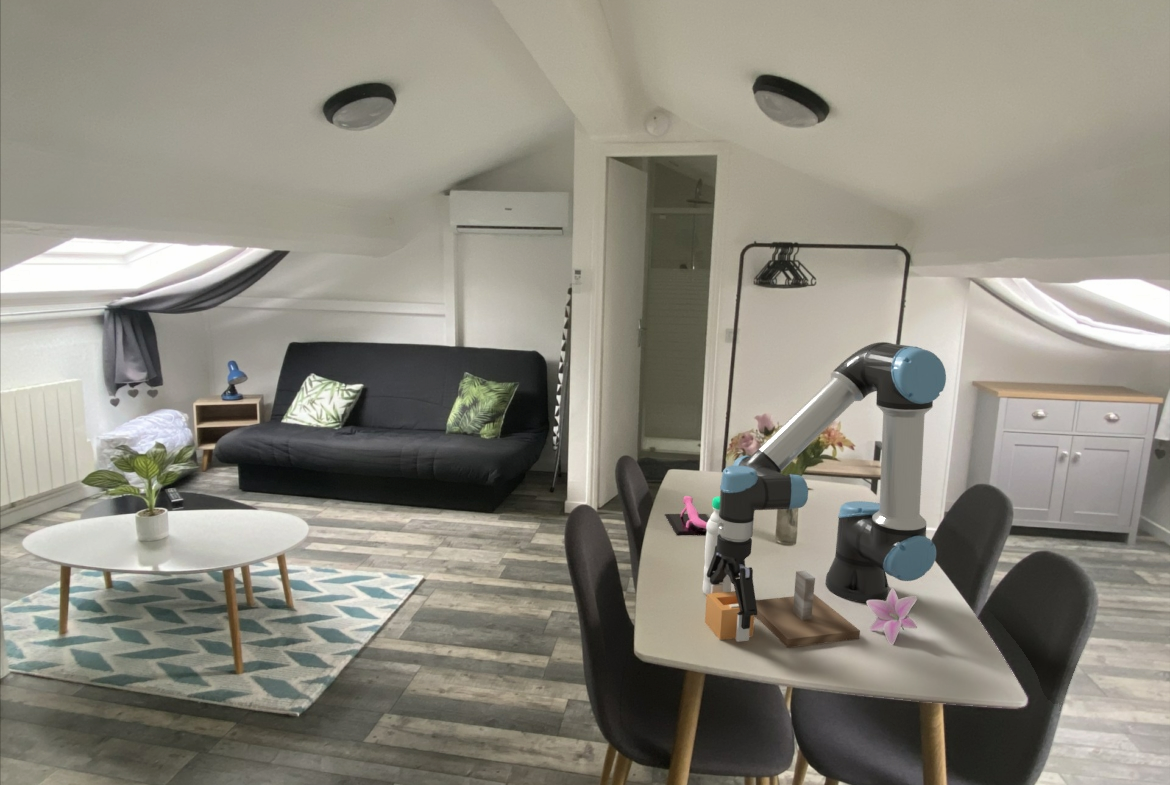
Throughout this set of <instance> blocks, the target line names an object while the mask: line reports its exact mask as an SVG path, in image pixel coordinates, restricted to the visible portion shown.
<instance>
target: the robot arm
mask: <svg viewBox="0 0 1170 785" xmlns="http://www.w3.org/2000/svg"><path fill="white" fill-rule="evenodd" d="M946 373H947V372H946V368H945V366H944V363H943V361H942V360H941V359H940V358H939V357H938V356H937V355H936V354H935V353H934V352H932V351H930V350H928V349H923V348H922V347H918V346H913V345H912V346H911V345H904V344H896V343H892V342H886V341H885V342H884V341H881V342H880V341H879V342H873V343H871V344H869V345H866V346H864V347H862V348H860V349H858V350H857V351H855V352H854V353H852V354H851V355H850V356H848V357H847V358H846V359H845V360H843V361H842V362H841V363H840V364H839V365H838V366H837V367H836V368H835V369H834V370H832V371H831V372H830V379H829V381H828V382H826V384H824V386H822V387H821V388H820V389H819V390H818V391H817V392H816V393H815V394H814V395H813V396H812V397H811V398H810V399H809V400H807V402H806V403H805V404H803V406H802V407H800V409H798V410H797V412H795V413H794V414H793V415H792V416H791V417H790V418H789V419H788V420H786V422H785V423H784V424H783V425H782V426H781V427H780V428H779V429H778V430H776V432H775V433H774V434H773V435H771V436H770V437H769V438H768V439H767V441H765V443H763V444H762V446H760V447H759V448H758V449H757V450H755V452H754V453H752V455H742V456H739V457H738V458H737V459H736V460H734V463H733V464H732V465H729V466H727V467H725V468H724V469H723V471H722V474H721V479H720V485H719V489H720V492H719V493H720V496H719V497H720V512H719V523H717V526H718V533H719V535H718V536H717V546H715V551H714V555H713V558H712V561H711V564H710V566H709V569H708V572H707V577H708V578H709V577H710V583H711V593H721V592H723V584H719V583H722V582H723V579H724V578H725V577H726V575H728V576H729V577H730V580H731V585H733V587H734V591H735V592H736V596H737V600H738V605H739V609H740V612H738V613H737V614H738V617H737V630H736V638H735V641H736V642H737V643H738V642H739V643H740V642H745V641H750V640H749V639H750V637H749V630H750V619H751V616H752V615H754V616H755V615H757V606H756V600H757V599H756V594H755V586H754V578H753V573H754V572H753V571H754V570H753V567H752V566H751V567H747V566H746V559H747V558H748V557H749V556H751V553H752V546H753V545H752V543H753V540H752V537H753V533H754V521H755V518H754V517H755V512H756V511H767V510H769V511H771V510H773V511H774V510H775V511H777V510H789V511H790V510H791V509H793V510H794V509H801V508H803V507H805V505H806V504H807V502H808V499H809V488H808V484H807V481H806V480H805V478H804V477H803V476H802V475H799V474H791V473H789V474H782V473H781V472H782V471H784V470H785V469H786V467H787V466H789V464H791V462H793V461H794V460H795V459H796V458H797V457H798V456H799V455H800V454H801V453H802V452H803V451H804V450H805V449H806V448H807V447H809V445H811V443H812V442H813V441H815V440H816V439H817V438H818V437H819V436H820V435H821V434H822V433H823V432H824V431H825V430H826V429H828V427H830V425H832V424H833V422H835V421H836V420H837V418H839V417H840V416H841V415H842V414H843V413H844V412H845V411H846V410H847V409H848V408H849V407H850V406H851V405H852V404H853V403H854V402H861V401H863V399H865V398H866V397H867V396H868V395H870V394H872V393H874V392H876V399H875V400H876V402H875V404H876V407H877V408H879V410H880V411H882V434H881V436H882V437H881V438H882V440H881V461H880V486H879V487H880V488H879V503H878V502H873V501H865V500H864V501H863V500H862V501H860V500H857V501H847V502H844V503H843V504H841V505H840V508H839V513H838V517H837V518H838V523H837V524H838V525H837V533H836V544H835V555H834V558H833V561H832V563H831V565H830V568H829V570H828V572H827V573H826V576H825V587H826V588H827V589H828V590H829V591H830V592H831V593H833V594H834V595H836V596H838V597H841V598H844V599H846V600H850V601H856V602H859V603H860V602H862V603H866V601H867V600H883V601H885V600H887V597H888V594H889V591H890V590H889V588H890V586H889V583H888V582H889V581H888V577H887V575H888V576H891V577H893V578H895V579H897V580H899V581H903V582H911V581H915V580H918V579H921V578H923V577H924V576H925V574H926V573H927V572H929V571H930V570H931V568H932V567H933V565H934V563H935V561H936V559H937V548H936V545H935V544H934V543H933V541H932V540H931V538H929V537H927V520H926V519H925V518H924V517H923V516H922V514H920V513H921V495H922V494H921V493H922V491H921V490H922V475H923V474H922V473H923V453H924V433H925V431H924V430H925V415H926V413H928V412H929V411H930V410H932V408H933V407H934V406H933V404H934V401H935V400H936V399H938V398H939V397H940V393H941V392H943V391H944V389H945V386H946V382H947V374H946ZM714 571H715V572H714Z"/></svg>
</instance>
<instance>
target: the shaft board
mask: <svg viewBox="0 0 1170 785" xmlns="http://www.w3.org/2000/svg"><path fill="white" fill-rule="evenodd" d="M815 582H816V577H814V575H812V574H810V573H809V572H808V571H806V570H797V571H795V581H794V593H793V596H783V597H774V598H765V599H756V606H757V615H754V617H756V618H757V620H759V622H760V623H761V624H763V625H764V626H765V627H766V628H767V629H768V631H770V632H771V633H772V634H773V636H775V637H776V638H777V640H779V641H780V642H781V644H783V645H784V646H785V647H786V648H794V647H795V648H797V647H804V646H812V645H814V646H815V645H821V644H829V643H835V642H836V643H837V642H844V641H846V642H847V641H852V640H853V641H855V640H859V639H860V638H861V637H860V634H861V630H860V629H859V628H858V627H856V626H855V625H854V624H853V623H851V622H850V621H849V620H848V619H847V618H845V617H844V616H843V615H841V614H840V613H839V612H838V611H836V610H835V609H834V608H832V606H830V605H829V604H827V603H826V602H825V601H823V599H821V598H820V597H819V596H817V595H816V594H814V593H815V584H816V583H815Z"/></svg>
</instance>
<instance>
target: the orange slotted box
mask: <svg viewBox="0 0 1170 785" xmlns="http://www.w3.org/2000/svg"><path fill="white" fill-rule="evenodd" d="M705 596H706V598H705V600H706V601H705V612H704V613H705V615H704V616H705V617H704V623H705V624H706V625H707V627H708V628H709V629H710V630H711V631H712V632H713V634H714V635H715V636H716V637H717V638H718V640H720V641H722V640H731V639H736V630H737V617H738V614H737V613H738V612H740V609H739V605H738V600H737V596H736V592H735V590H733V591H732V590H731V592H721V593H711V594H707V595H705ZM754 626H755V615H752V616H751V619H750V630H749V638H750V637H753V636H754V629H755V628H754Z"/></svg>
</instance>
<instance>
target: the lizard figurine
mask: <svg viewBox="0 0 1170 785" xmlns="http://www.w3.org/2000/svg"><path fill="white" fill-rule="evenodd" d="M682 499H683V501H682V502H683V505H684V506H685V507H684V508H683V509H682V511H681V512H680V513H665V514H664V517H665V516H666V517H665V518H666V520H667V519H668V520H667V522H668V521H669V522H668V524H669V525H670V527H671V526H672V527H671V528H673V529H672V530H673V532H674V534H675V533H676V534H675V535H676V536H677V535H697V536H706V534H707V529H706V525H707V522H708V520H709V519H710V517H711V516H710V515H709V514H708V513H699V512H698V510H697V509H696V507H695V506H694V504H693V497H692V496H691V495H684V496H683V498H682ZM686 512H687V513H686Z"/></svg>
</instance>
